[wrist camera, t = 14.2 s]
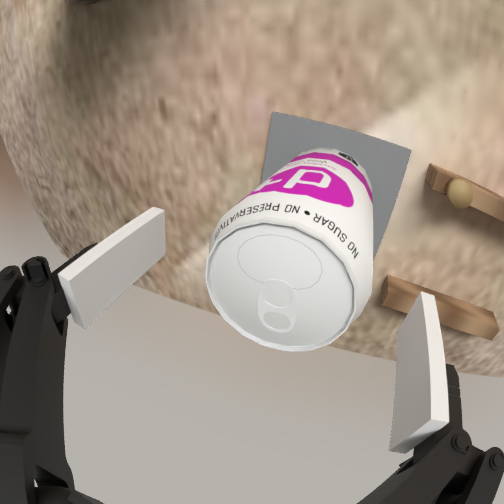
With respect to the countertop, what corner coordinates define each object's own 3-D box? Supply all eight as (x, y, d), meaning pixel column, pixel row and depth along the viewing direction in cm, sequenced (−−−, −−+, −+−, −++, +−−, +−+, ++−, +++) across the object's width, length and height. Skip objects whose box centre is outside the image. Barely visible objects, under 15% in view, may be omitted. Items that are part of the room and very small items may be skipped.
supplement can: (281, 143, 24) (182, 197, 12) (377, 153, 22) (390, 223, 10) (280, 228, 28) (203, 337, 16) (366, 241, 26) (351, 372, 14)
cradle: (382, 286, 28) (381, 315, 24) (430, 160, 20) (443, 172, 17) (486, 322, 24) (494, 350, 21) (543, 217, 17) (563, 238, 13)
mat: (254, 231, 30) (252, 233, 30) (273, 111, 24) (272, 111, 23) (369, 268, 27) (369, 270, 27) (410, 149, 21) (411, 150, 20)
